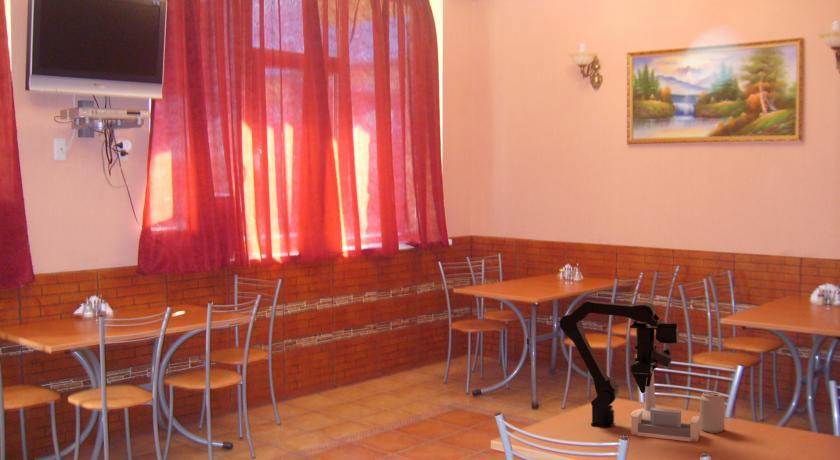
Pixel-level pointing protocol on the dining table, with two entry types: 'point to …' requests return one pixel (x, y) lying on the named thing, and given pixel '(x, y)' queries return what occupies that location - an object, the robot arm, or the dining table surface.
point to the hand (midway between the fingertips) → (645, 389)
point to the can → (712, 412)
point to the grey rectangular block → (665, 417)
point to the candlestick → (648, 400)
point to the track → (665, 429)
